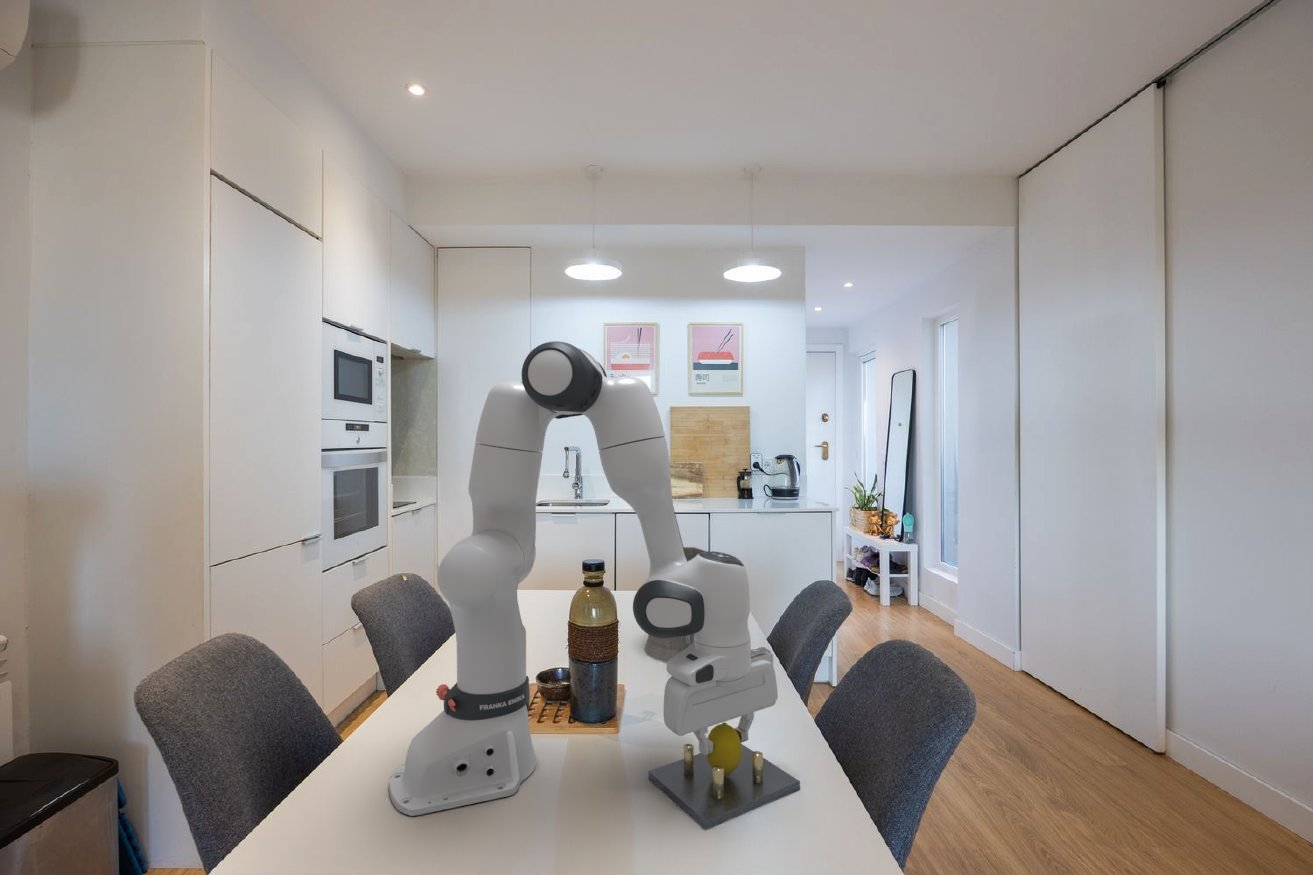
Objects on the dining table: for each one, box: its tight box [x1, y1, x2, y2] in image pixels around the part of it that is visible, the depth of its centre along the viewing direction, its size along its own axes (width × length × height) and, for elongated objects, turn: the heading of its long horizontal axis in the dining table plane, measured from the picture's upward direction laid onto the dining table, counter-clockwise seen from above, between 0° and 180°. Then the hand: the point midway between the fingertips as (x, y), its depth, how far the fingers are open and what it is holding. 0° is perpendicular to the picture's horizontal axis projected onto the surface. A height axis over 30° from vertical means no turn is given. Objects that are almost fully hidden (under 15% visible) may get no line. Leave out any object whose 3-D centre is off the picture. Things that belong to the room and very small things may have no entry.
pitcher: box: [643, 546, 706, 664], centre depth 150 cm, size 23×32×25 cm
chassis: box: [647, 743, 801, 831], centre depth 92 cm, size 18×15×5 cm
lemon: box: [707, 722, 742, 776], centre depth 92 cm, size 6×6×8 cm
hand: (724, 746), depth 92 cm, fingers closed on lemon, 5 cm apart
